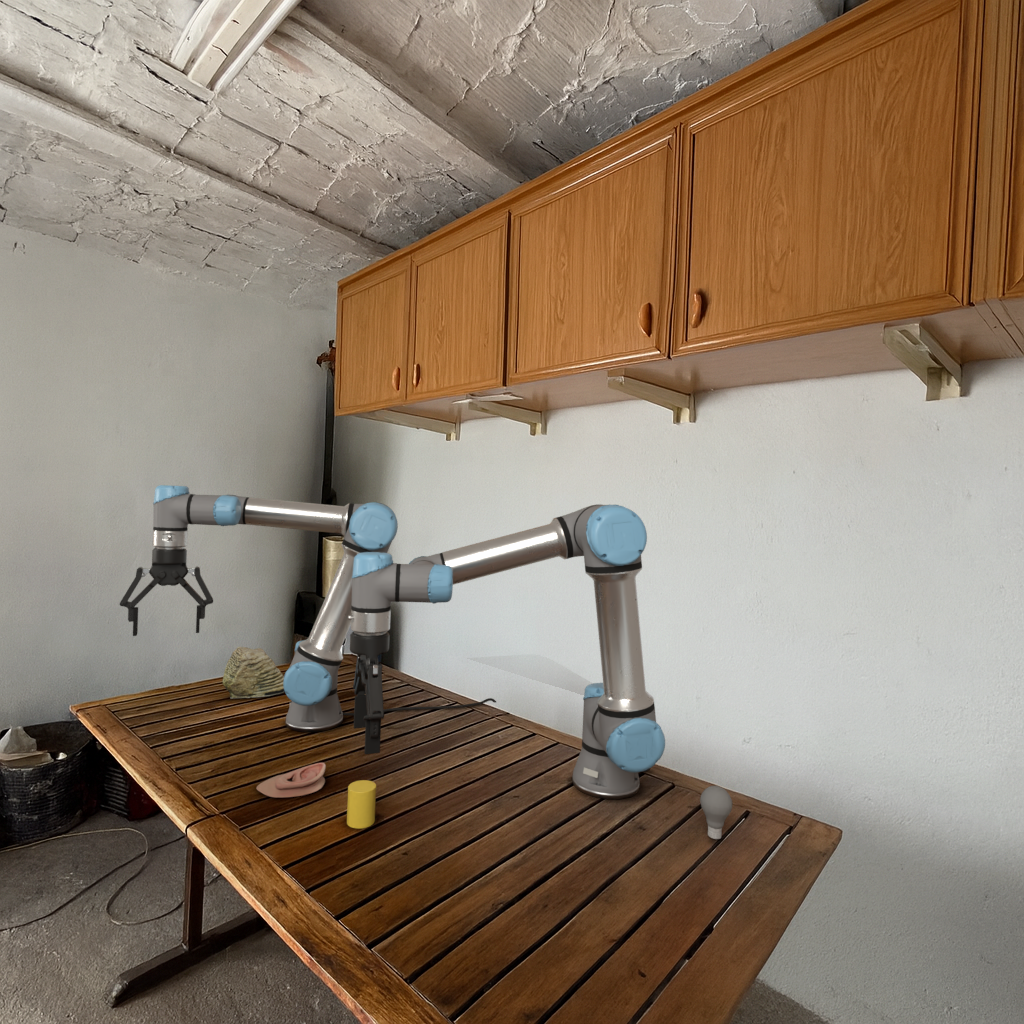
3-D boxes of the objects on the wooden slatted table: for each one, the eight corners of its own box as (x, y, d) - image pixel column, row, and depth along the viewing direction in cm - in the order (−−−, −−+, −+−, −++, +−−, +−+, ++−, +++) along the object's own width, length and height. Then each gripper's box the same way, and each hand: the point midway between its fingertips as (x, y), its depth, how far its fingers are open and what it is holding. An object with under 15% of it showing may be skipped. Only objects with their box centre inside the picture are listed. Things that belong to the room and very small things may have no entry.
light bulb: (693, 829, 126) (696, 780, 126) (722, 829, 127) (725, 780, 127) (705, 846, 121) (708, 794, 120) (735, 846, 121) (738, 794, 121)
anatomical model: (248, 775, 133) (279, 754, 144) (247, 794, 133) (278, 771, 144) (306, 783, 130) (332, 761, 142) (305, 802, 130) (332, 779, 142)
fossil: (218, 695, 195) (220, 647, 195) (278, 685, 208) (279, 640, 207) (228, 703, 189) (230, 653, 188) (289, 692, 201) (290, 645, 201)
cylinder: (343, 818, 125) (345, 782, 125) (370, 812, 128) (371, 778, 128) (350, 831, 121) (352, 794, 121) (378, 825, 123) (379, 789, 123)
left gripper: (108, 548, 147) (105, 639, 148) (225, 549, 158) (222, 633, 159) (112, 546, 154) (109, 632, 155) (224, 546, 165) (221, 627, 166)
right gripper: (342, 620, 134) (338, 719, 134) (360, 647, 111) (356, 767, 111) (377, 618, 137) (374, 716, 137) (403, 645, 114) (398, 762, 114)
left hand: (166, 633), depth 157 cm, fingers open, 13 cm apart
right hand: (366, 739), depth 124 cm, fingers open, 13 cm apart
